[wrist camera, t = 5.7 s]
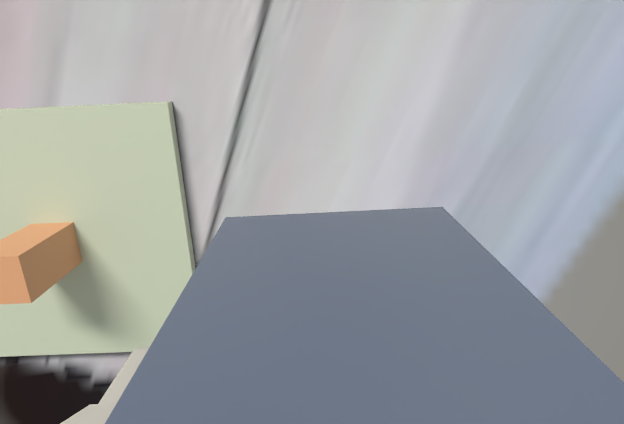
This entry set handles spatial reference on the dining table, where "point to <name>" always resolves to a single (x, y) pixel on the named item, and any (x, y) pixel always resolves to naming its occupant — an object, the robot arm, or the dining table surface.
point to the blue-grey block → (362, 332)
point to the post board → (90, 227)
